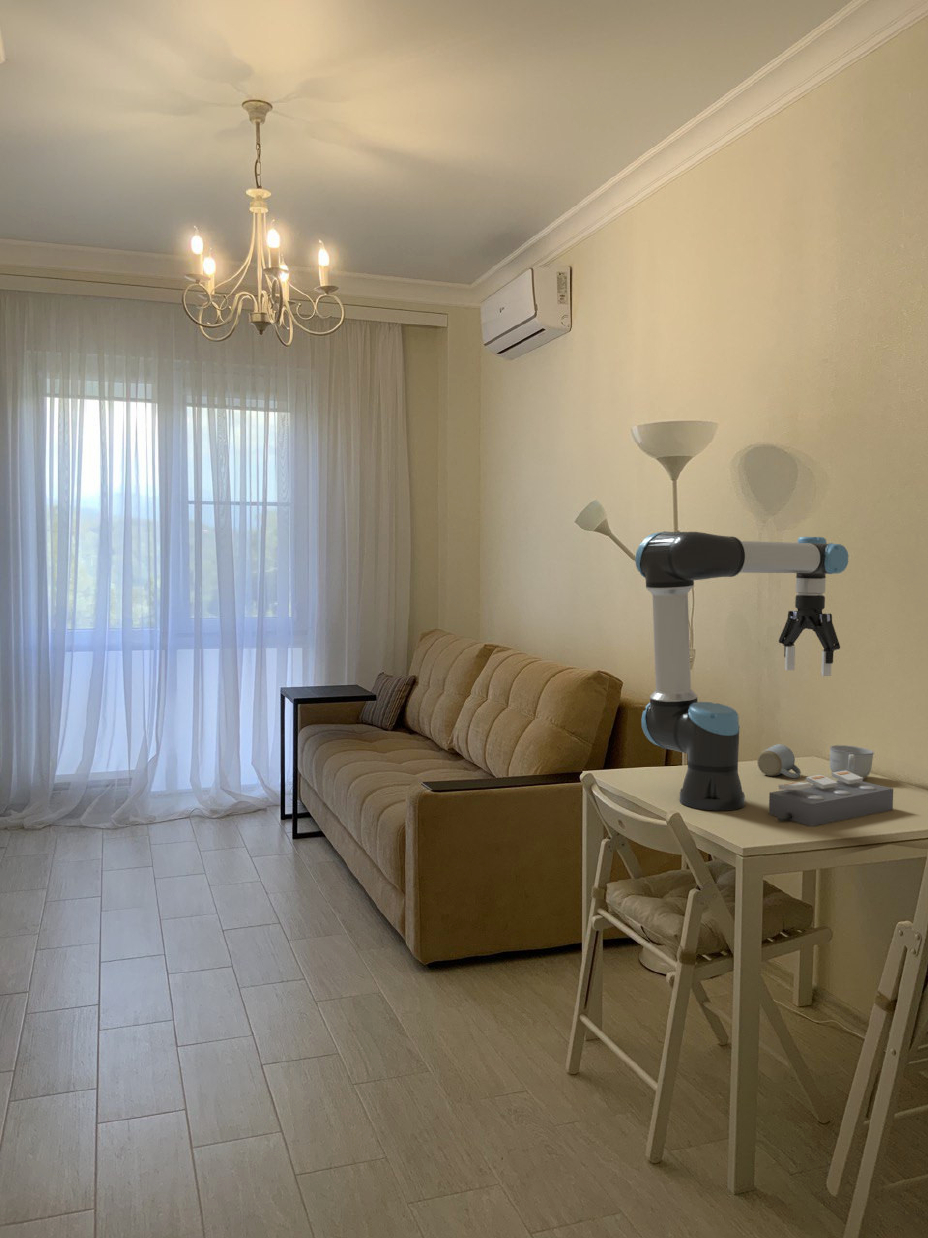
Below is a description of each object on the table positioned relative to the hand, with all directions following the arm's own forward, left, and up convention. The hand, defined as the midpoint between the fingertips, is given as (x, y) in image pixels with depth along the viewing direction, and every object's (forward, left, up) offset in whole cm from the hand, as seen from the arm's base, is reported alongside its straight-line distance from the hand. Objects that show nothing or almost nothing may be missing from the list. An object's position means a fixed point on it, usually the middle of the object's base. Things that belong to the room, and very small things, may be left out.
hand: (807, 673), depth 276 cm
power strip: (-30, -32, -27) cm, 52 cm away
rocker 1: (-37, -29, -21) cm, 52 cm away
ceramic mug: (-8, +1, -27) cm, 29 cm away
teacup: (+4, -12, -27) cm, 30 cm away
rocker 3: (-19, -29, -21) cm, 40 cm away
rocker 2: (-28, -29, -21) cm, 45 cm away
